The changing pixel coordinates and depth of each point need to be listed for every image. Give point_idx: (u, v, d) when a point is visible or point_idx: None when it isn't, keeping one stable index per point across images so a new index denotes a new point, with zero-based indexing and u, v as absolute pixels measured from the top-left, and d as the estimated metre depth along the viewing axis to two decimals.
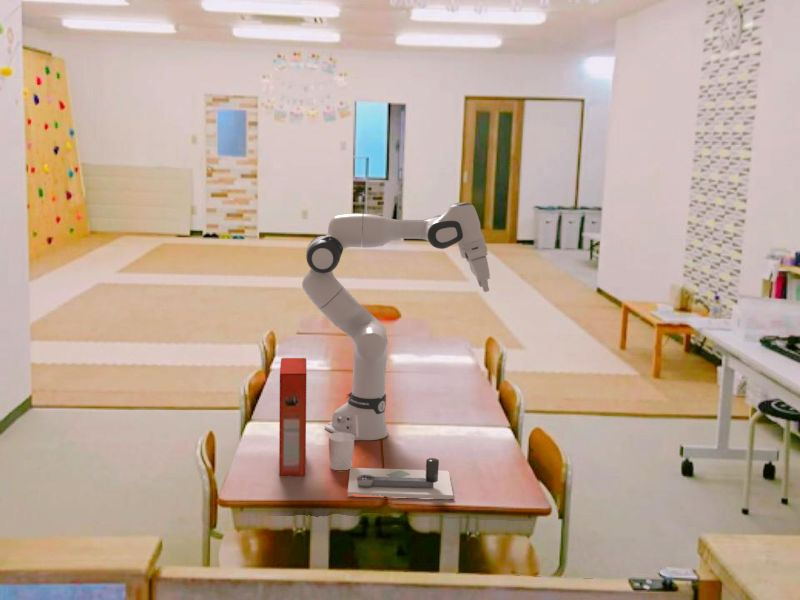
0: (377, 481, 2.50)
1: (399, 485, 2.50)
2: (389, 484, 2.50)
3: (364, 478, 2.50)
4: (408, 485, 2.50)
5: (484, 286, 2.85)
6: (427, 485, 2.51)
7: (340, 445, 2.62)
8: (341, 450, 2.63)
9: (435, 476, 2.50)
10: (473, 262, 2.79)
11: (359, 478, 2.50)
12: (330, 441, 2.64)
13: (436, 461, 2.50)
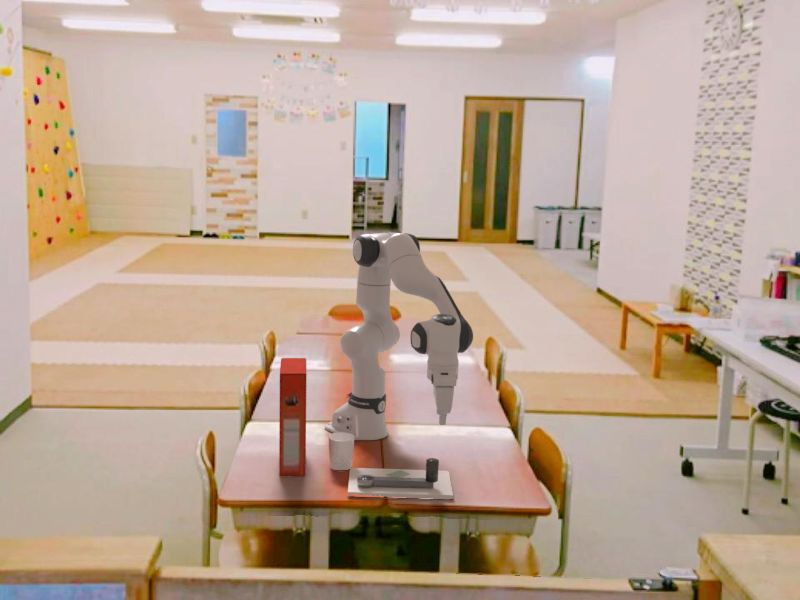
0: (377, 481, 2.50)
1: (399, 485, 2.50)
2: (389, 484, 2.50)
3: (364, 478, 2.50)
4: (408, 485, 2.50)
5: (441, 418, 2.43)
6: (427, 485, 2.51)
7: (340, 445, 2.62)
8: (341, 450, 2.63)
9: (435, 476, 2.50)
10: (437, 389, 2.38)
11: (359, 478, 2.50)
12: (330, 441, 2.64)
13: (436, 461, 2.50)
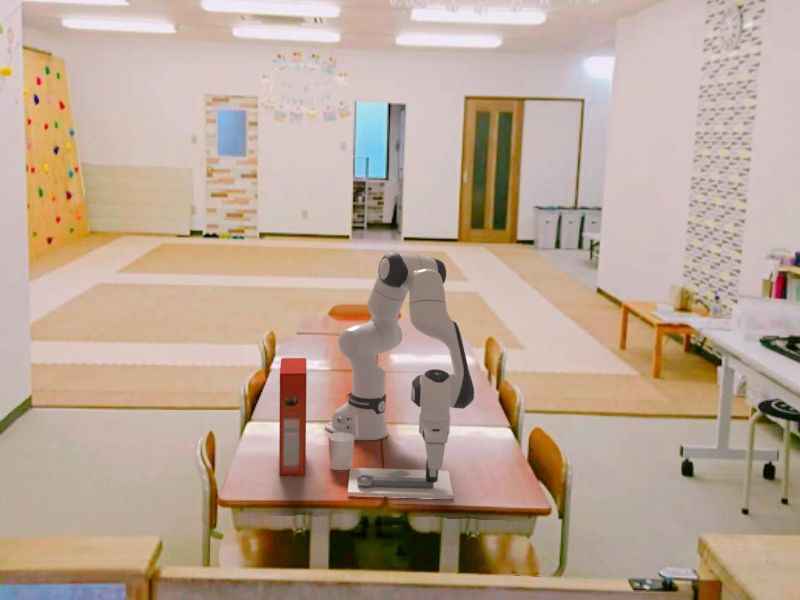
0: (377, 481, 2.50)
1: (399, 485, 2.50)
2: (389, 484, 2.50)
3: (364, 478, 2.50)
4: (408, 485, 2.50)
5: (431, 470, 2.47)
6: (427, 485, 2.51)
7: (340, 445, 2.62)
8: (341, 450, 2.63)
9: (435, 476, 2.50)
10: (428, 446, 2.40)
11: (359, 478, 2.50)
12: (330, 441, 2.64)
13: None
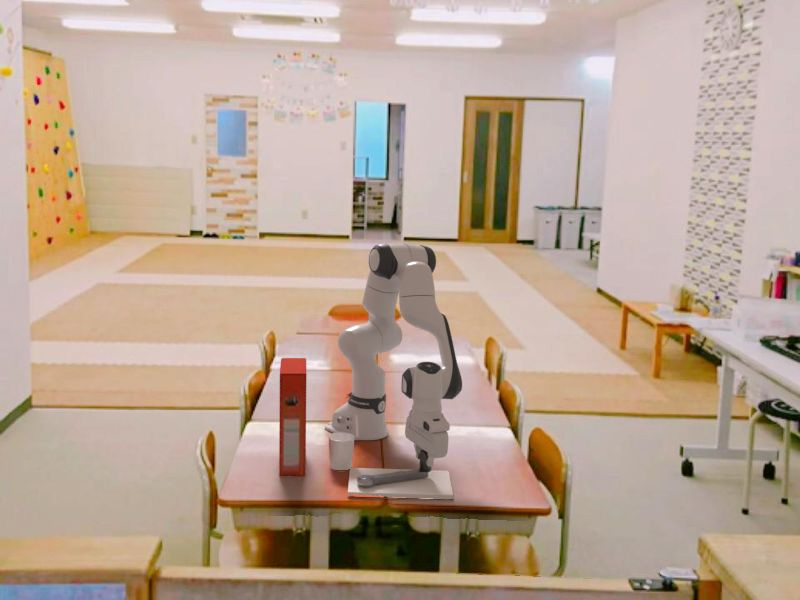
0: (378, 479, 2.51)
1: (398, 480, 2.54)
2: (389, 480, 2.53)
3: (365, 479, 2.50)
4: (406, 478, 2.55)
5: (430, 460, 2.55)
6: (423, 475, 2.57)
7: (340, 445, 2.62)
8: (341, 450, 2.63)
9: None
10: (435, 436, 2.48)
11: (360, 479, 2.50)
12: (330, 441, 2.64)
13: None
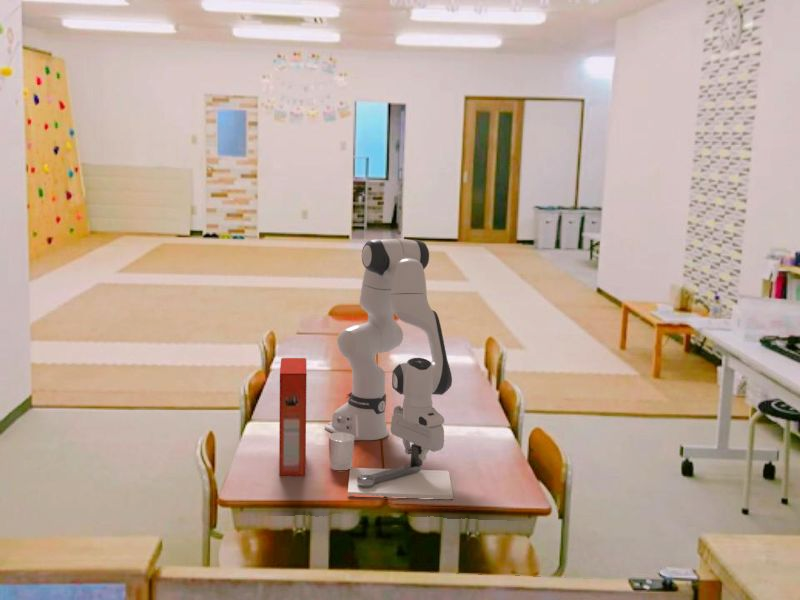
0: (377, 478, 2.52)
1: (394, 476, 2.56)
2: (387, 478, 2.55)
3: (366, 479, 2.50)
4: (401, 474, 2.58)
5: (423, 454, 2.59)
6: (415, 470, 2.61)
7: (340, 445, 2.62)
8: (341, 450, 2.63)
9: None
10: (432, 430, 2.53)
11: (361, 480, 2.49)
12: (330, 441, 2.64)
13: None
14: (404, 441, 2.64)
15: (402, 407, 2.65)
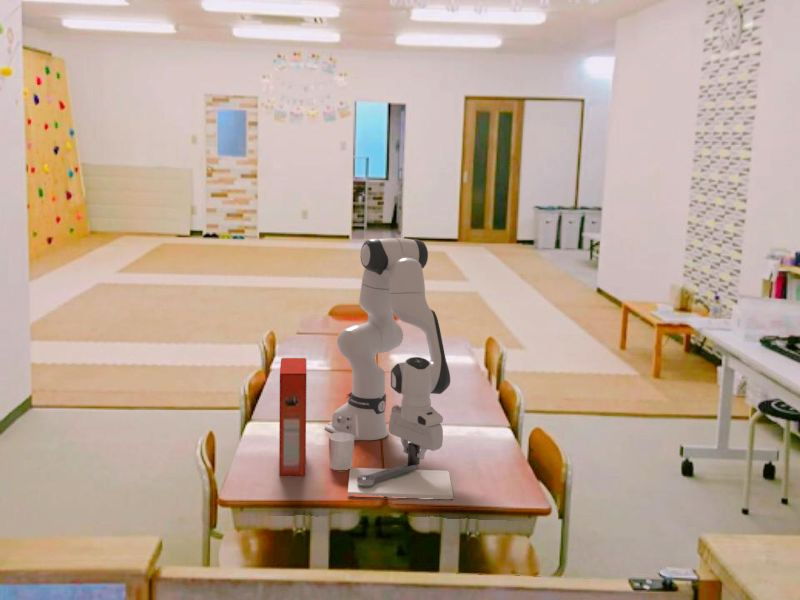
0: (377, 478, 2.52)
1: (393, 476, 2.57)
2: (386, 477, 2.55)
3: (366, 479, 2.50)
4: (399, 473, 2.59)
5: (422, 453, 2.60)
6: (413, 468, 2.62)
7: (340, 445, 2.62)
8: (341, 450, 2.63)
9: None
10: (431, 429, 2.54)
11: (362, 480, 2.49)
12: (330, 441, 2.64)
13: None
14: (402, 440, 2.65)
15: None
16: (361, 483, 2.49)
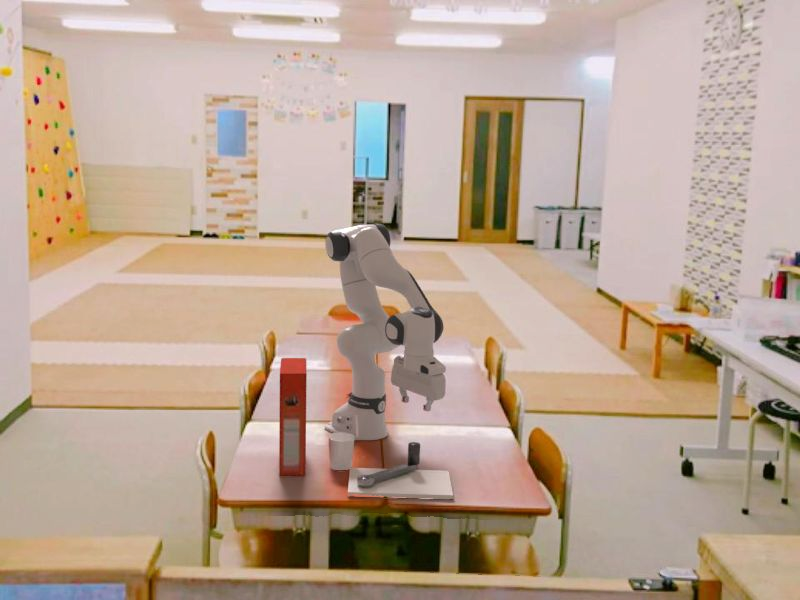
0: (377, 478, 2.52)
1: (393, 476, 2.57)
2: (386, 477, 2.55)
3: (366, 479, 2.50)
4: (399, 473, 2.59)
5: (428, 405, 2.57)
6: (413, 468, 2.62)
7: (340, 445, 2.62)
8: (341, 450, 2.63)
9: (419, 458, 2.63)
10: (434, 378, 2.51)
11: (362, 480, 2.49)
12: (330, 441, 2.64)
13: (418, 444, 2.63)
14: (401, 389, 2.64)
15: (403, 357, 2.63)
16: (361, 483, 2.49)
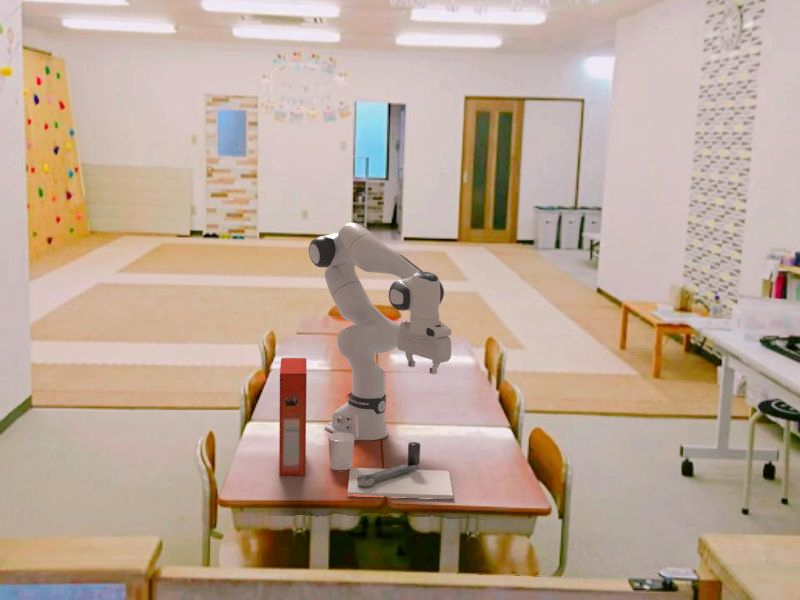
0: (377, 478, 2.52)
1: (393, 476, 2.57)
2: (386, 477, 2.55)
3: (366, 479, 2.50)
4: (399, 473, 2.59)
5: (434, 368, 2.61)
6: (413, 468, 2.62)
7: (340, 445, 2.62)
8: (341, 450, 2.63)
9: (419, 458, 2.63)
10: (440, 341, 2.56)
11: (362, 480, 2.49)
12: (330, 441, 2.64)
13: (418, 444, 2.63)
14: (407, 354, 2.68)
15: (409, 322, 2.67)
16: (361, 483, 2.49)
